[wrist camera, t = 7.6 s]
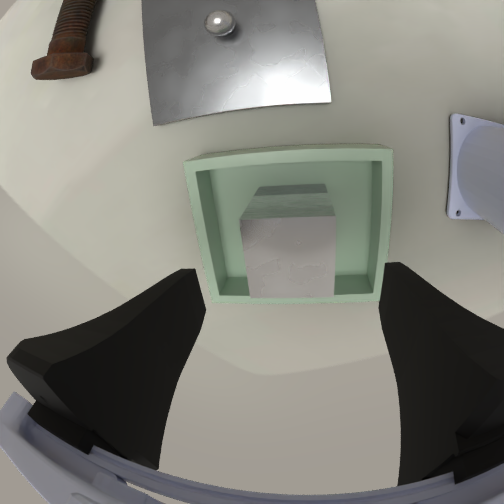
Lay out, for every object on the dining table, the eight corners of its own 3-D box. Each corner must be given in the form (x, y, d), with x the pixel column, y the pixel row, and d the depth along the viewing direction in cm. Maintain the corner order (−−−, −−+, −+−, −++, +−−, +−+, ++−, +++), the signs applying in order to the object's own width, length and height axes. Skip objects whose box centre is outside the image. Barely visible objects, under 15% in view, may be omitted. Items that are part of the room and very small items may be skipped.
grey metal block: (325, 243, 19) (333, 297, 14) (265, 245, 20) (250, 298, 15) (324, 183, 17) (335, 216, 12) (259, 186, 18) (238, 219, 13)
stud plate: (303, -38, 10) (302, -59, 7) (329, 103, 15) (335, 99, 12) (147, -5, 12) (126, -17, 10) (160, 125, 18) (136, 128, 15)
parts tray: (378, 144, 16) (393, 149, 13) (372, 277, 20) (381, 300, 18) (200, 155, 18) (183, 162, 16) (222, 280, 23) (212, 302, 20)
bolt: (130, -46, 11) (94, 76, 18) (84, -41, 9) (47, 82, 16) (130, -74, 6) (79, 67, 13) (75, -66, 4) (22, 77, 11)
